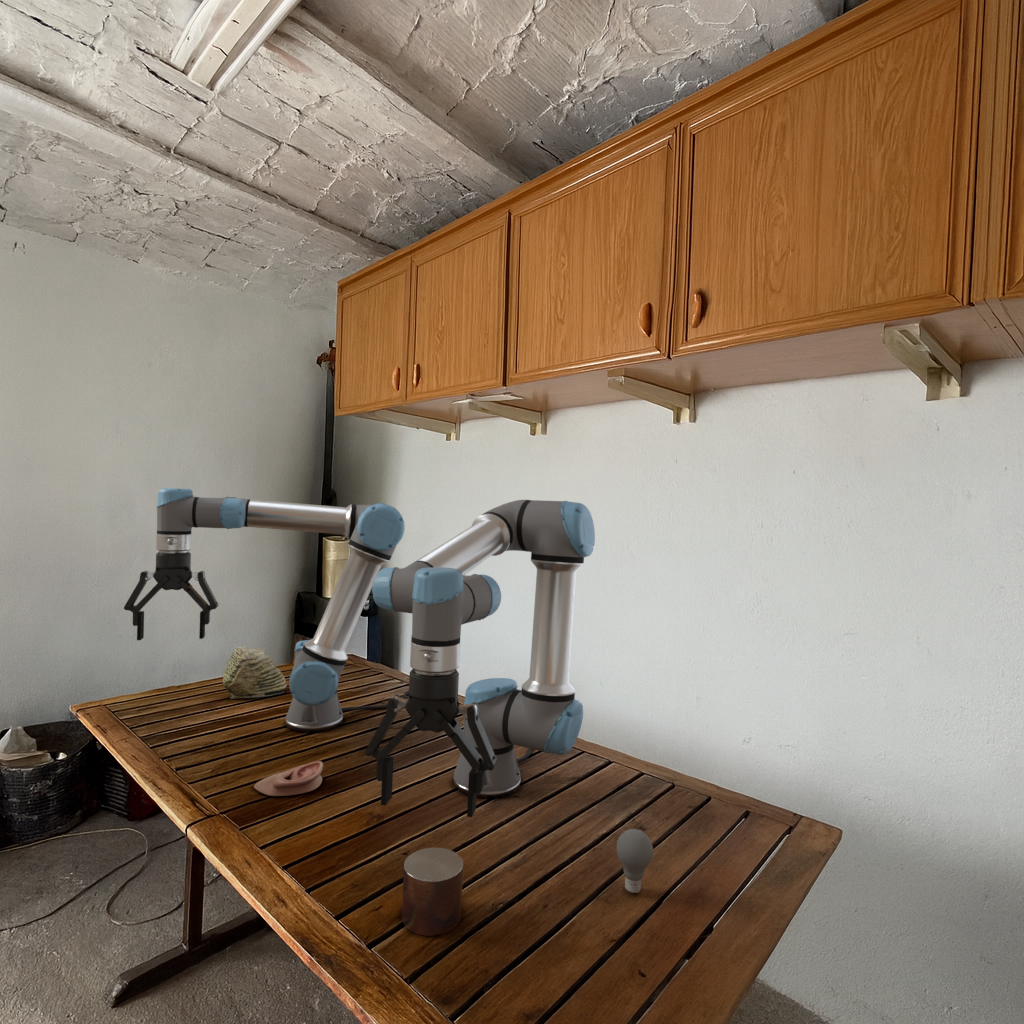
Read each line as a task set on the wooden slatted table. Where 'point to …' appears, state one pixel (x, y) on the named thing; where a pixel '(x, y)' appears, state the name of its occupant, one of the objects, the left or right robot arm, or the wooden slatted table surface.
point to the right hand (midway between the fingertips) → (428, 807)
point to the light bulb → (634, 857)
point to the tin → (432, 891)
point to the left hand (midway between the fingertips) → (171, 638)
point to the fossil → (252, 674)
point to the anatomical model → (292, 781)
